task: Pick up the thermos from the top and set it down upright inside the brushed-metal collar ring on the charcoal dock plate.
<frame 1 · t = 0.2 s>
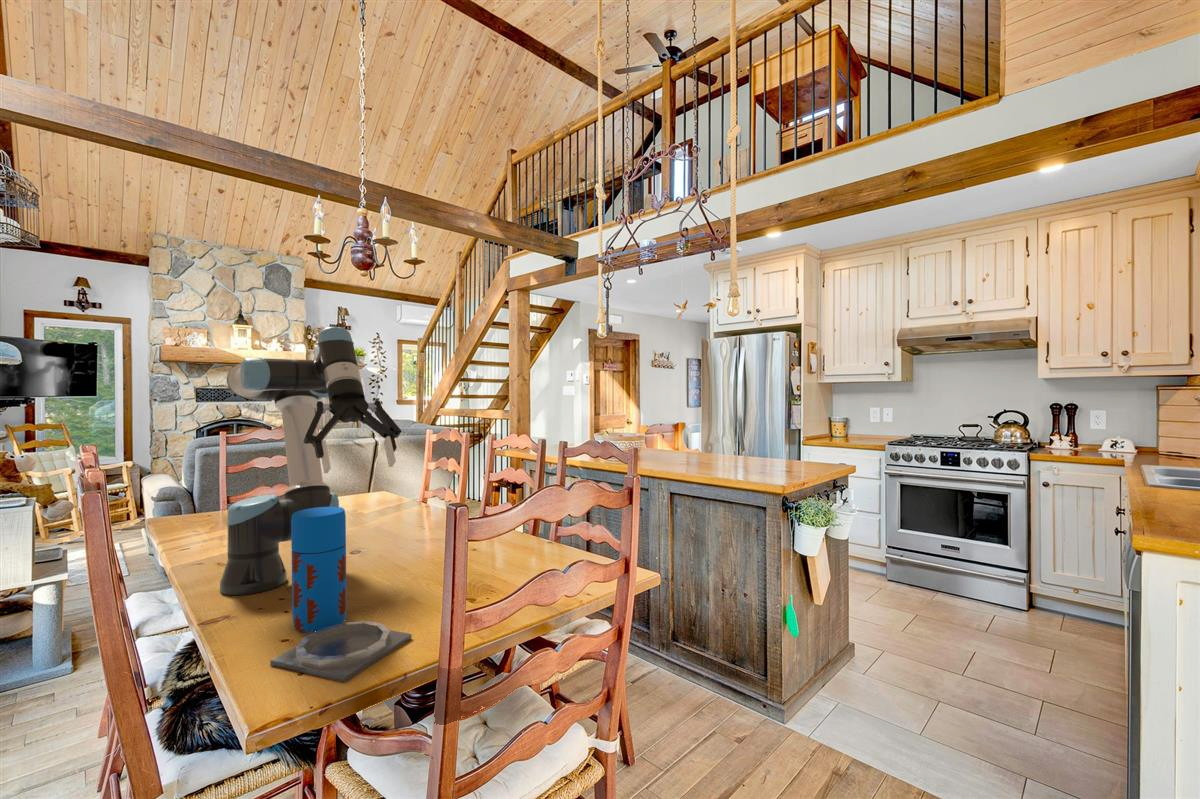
hand: (361, 467, 118), 35 cm above the table, tool tilted 30°, fingers open, 13 cm apart
collar dock: (344, 651, 108), on the table
thermos: (320, 622, 122), on the table
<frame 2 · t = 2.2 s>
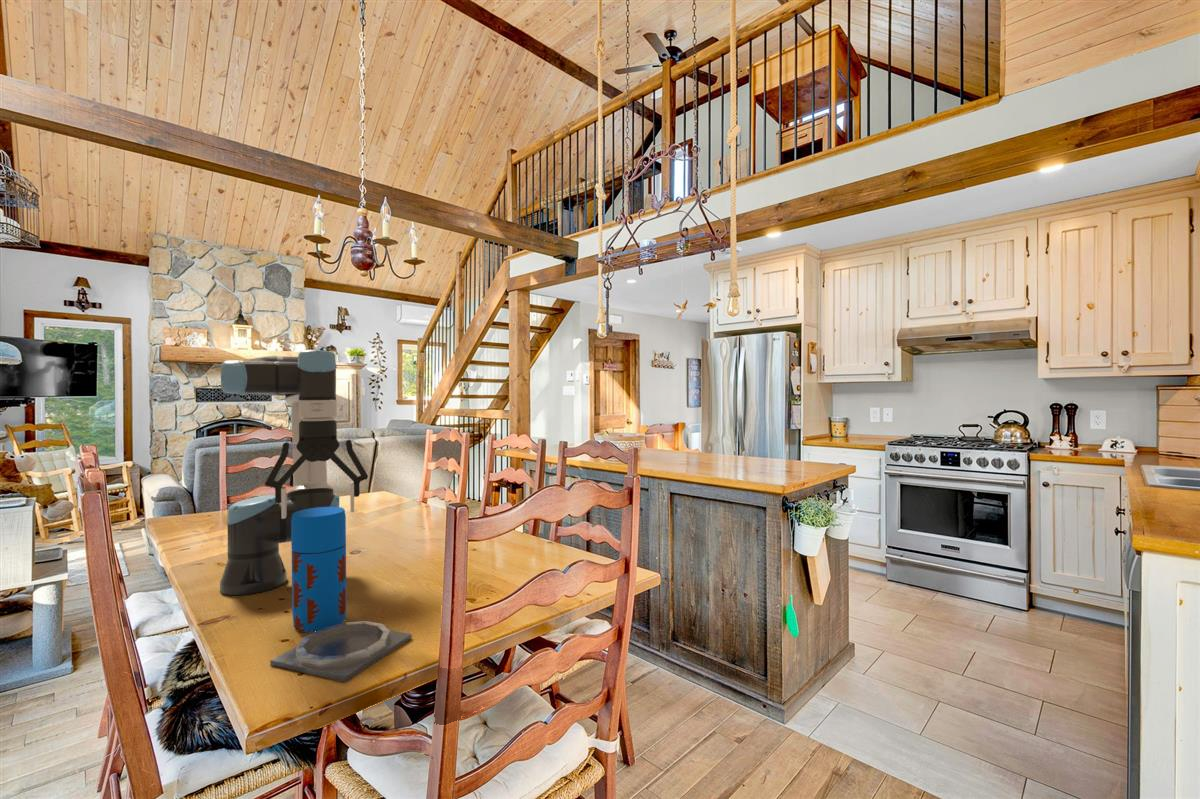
hand: (319, 514, 121), 24 cm above the table, tool pointing down, fingers open, 13 cm apart
nothing on the table moved.
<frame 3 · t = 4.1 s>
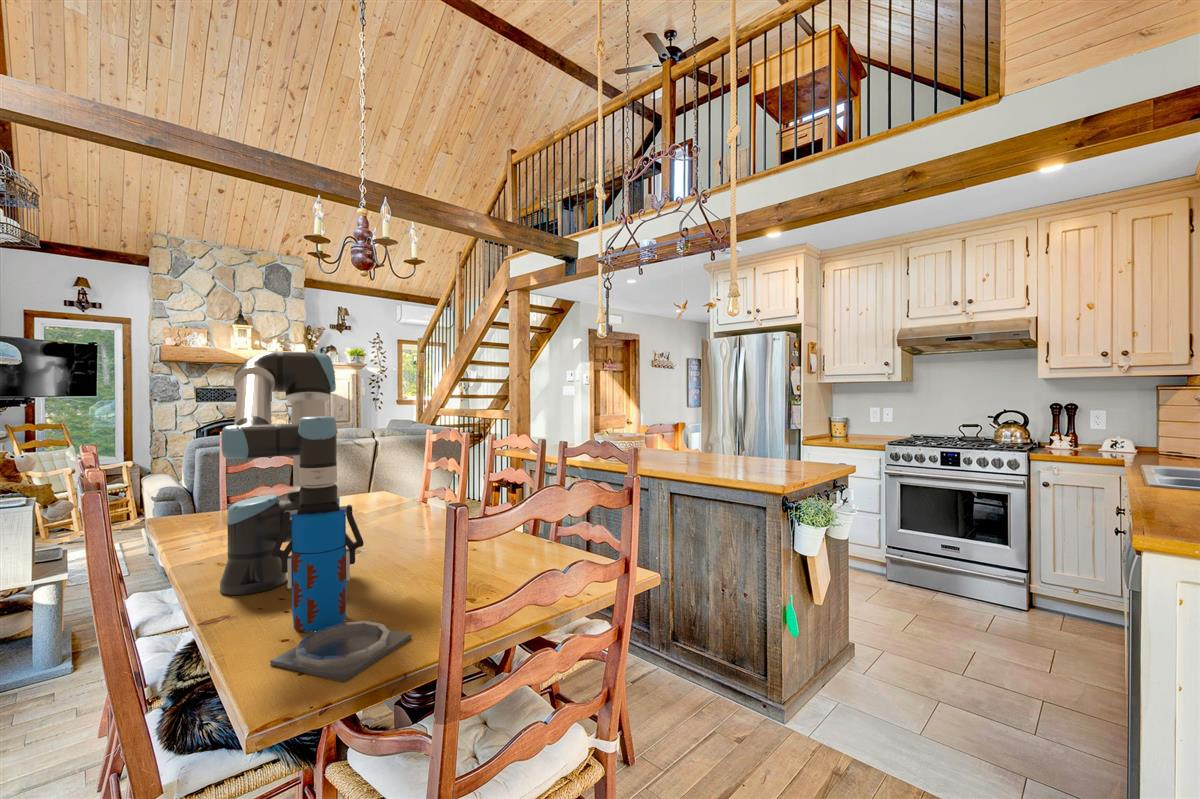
hand: (319, 582, 122), 9 cm above the table, tool pointing down, fingers closed on thermos, 11 cm apart
thermos: (320, 622, 122), on the table, touching gripper
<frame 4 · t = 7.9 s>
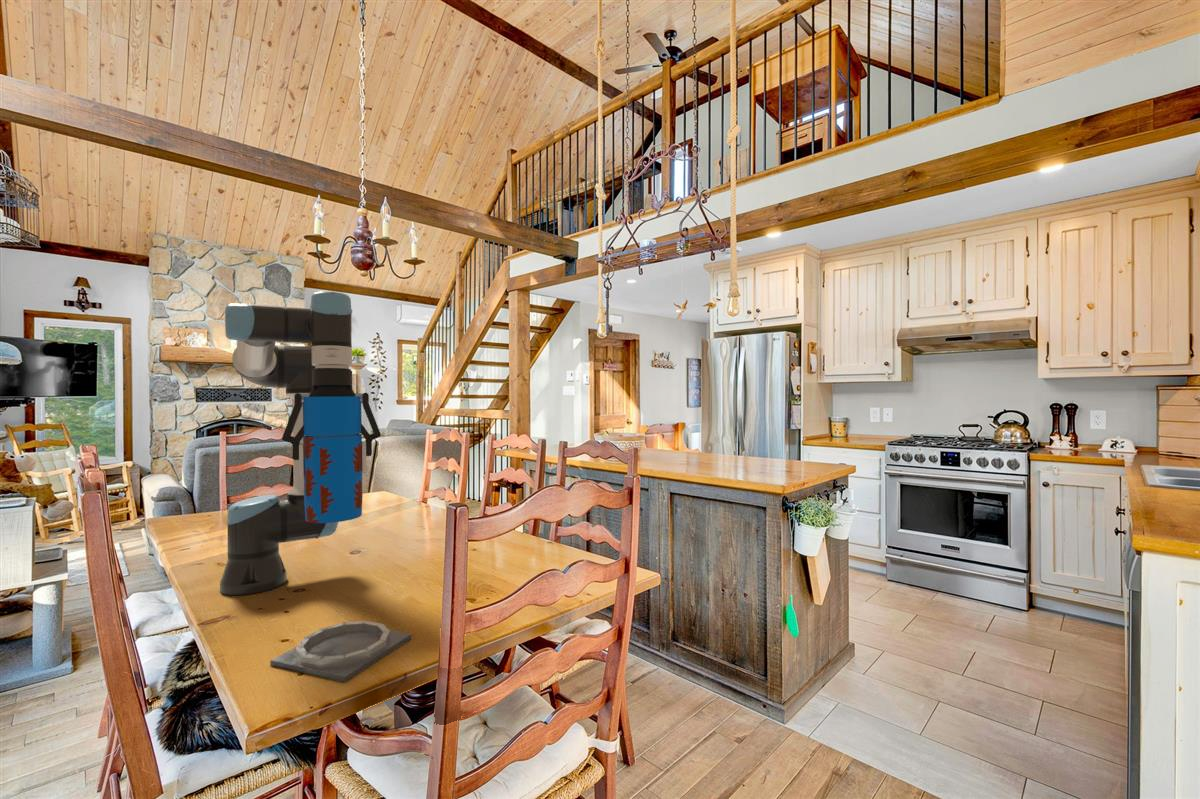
hand: (333, 474, 112), 35 cm above the table, tool pointing down, fingers closed on thermos, 11 cm apart
thermos: (334, 518, 112), point 26 cm above the table, touching gripper
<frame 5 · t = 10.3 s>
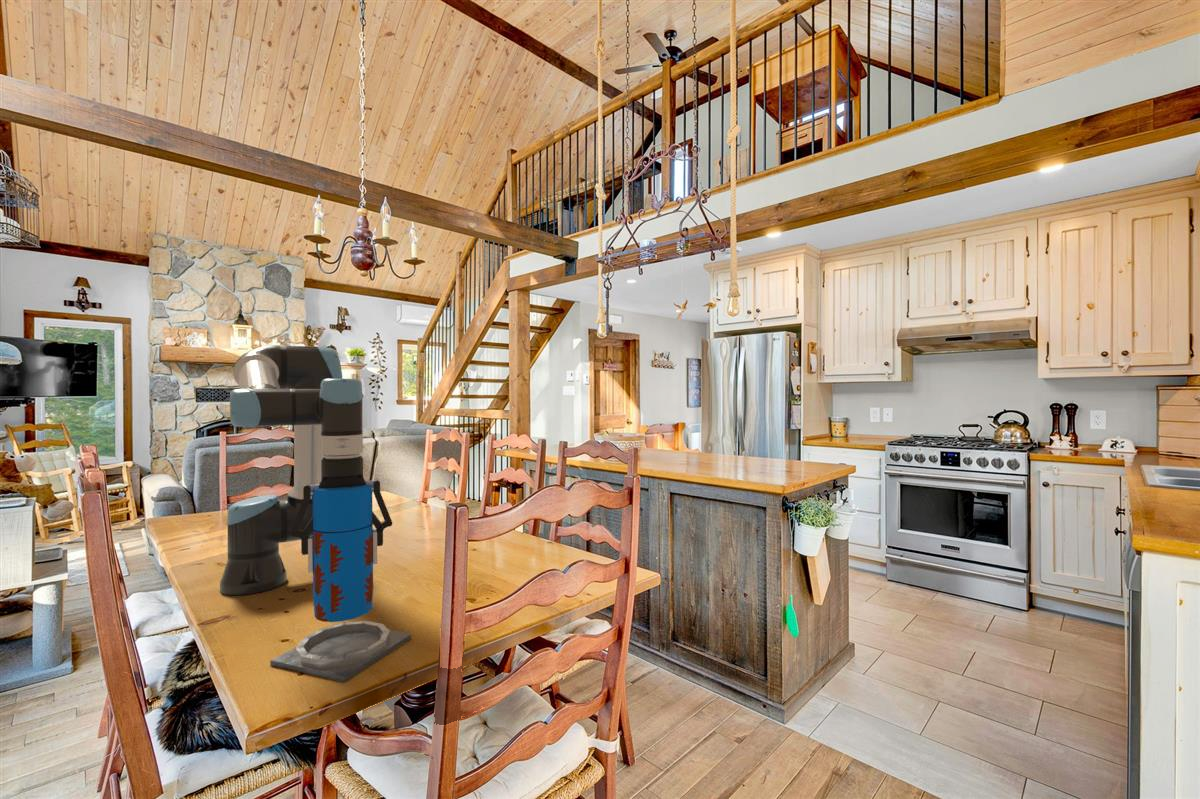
hand: (343, 566, 108), 17 cm above the table, tool pointing down, fingers closed on thermos, 11 cm apart
thermos: (344, 611, 108), point 8 cm above the table, touching gripper
when the fingers open (11 cm above the table, at t = 12.0 s): thermos drops 1 cm, resting on collar dock.
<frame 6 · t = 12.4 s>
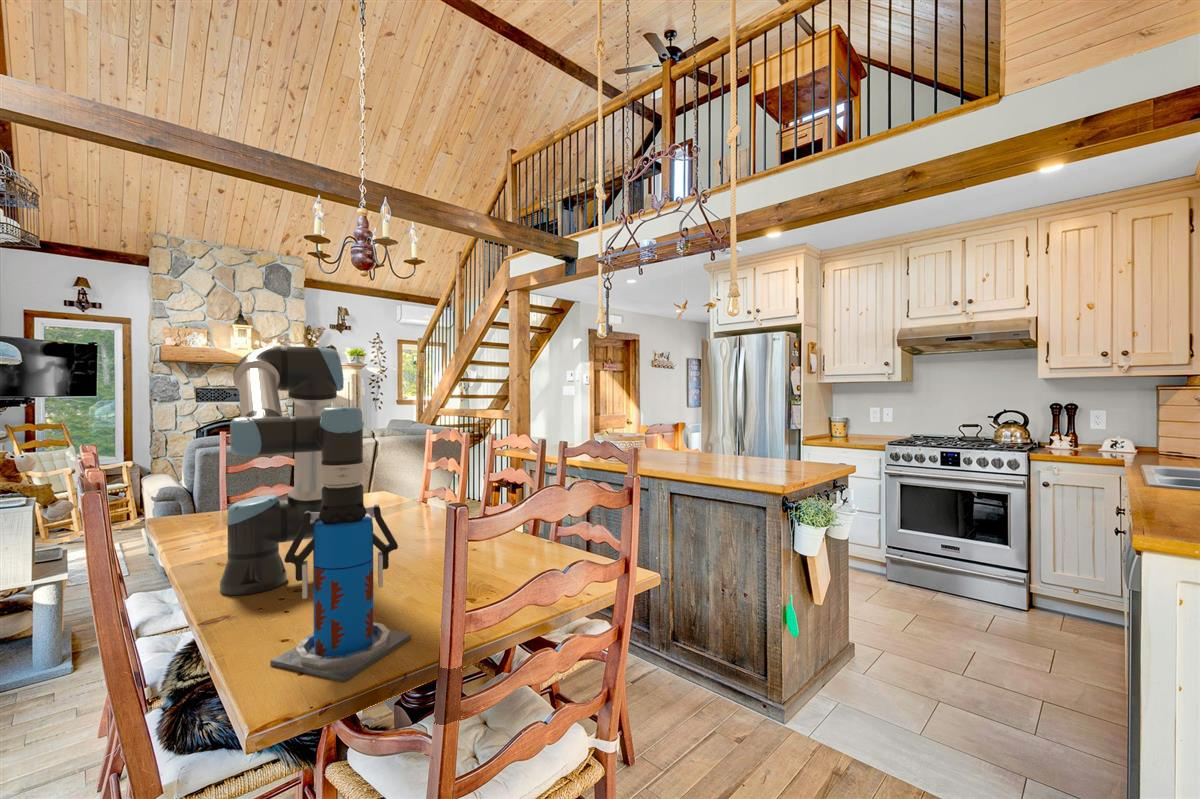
hand: (343, 590, 108), 12 cm above the table, tool pointing down, fingers open, 13 cm apart
thermos: (344, 647, 108), point 1 cm above the table, touching collar dock
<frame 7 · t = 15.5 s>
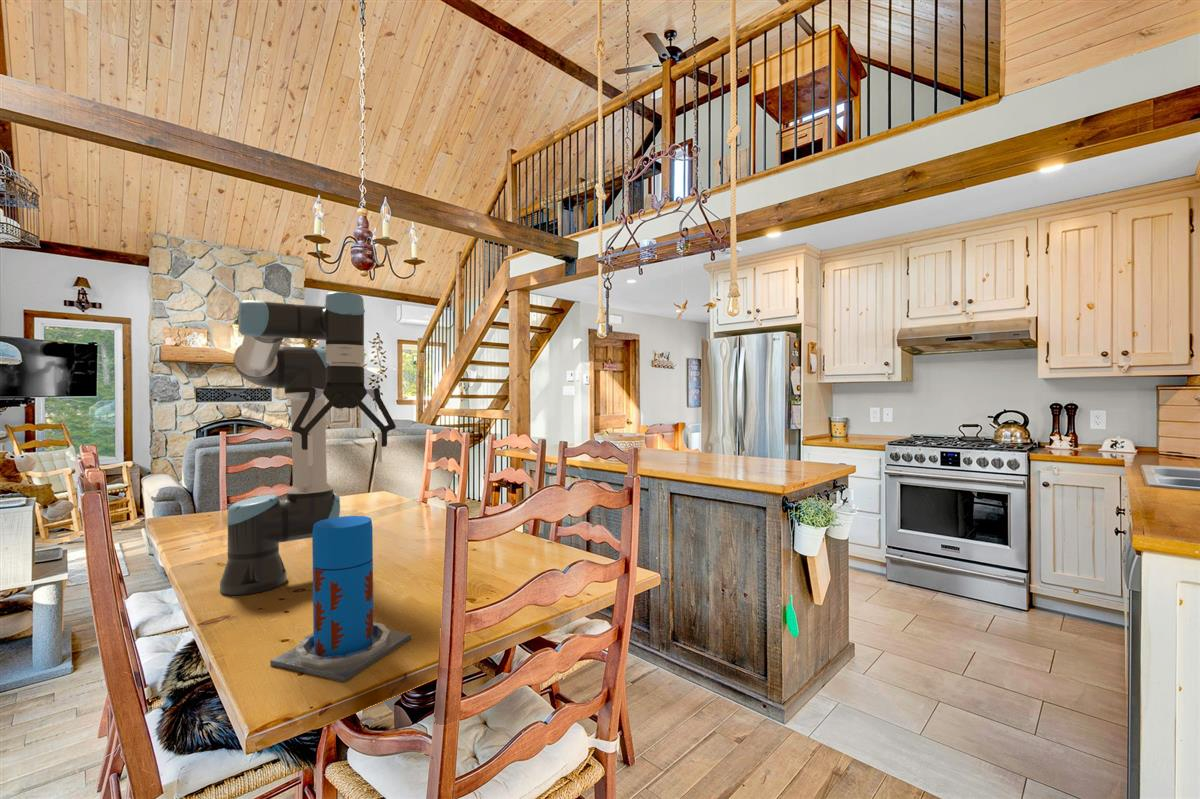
hand: (345, 463, 117), 36 cm above the table, tool pointing down, fingers open, 13 cm apart
nothing on the table moved.
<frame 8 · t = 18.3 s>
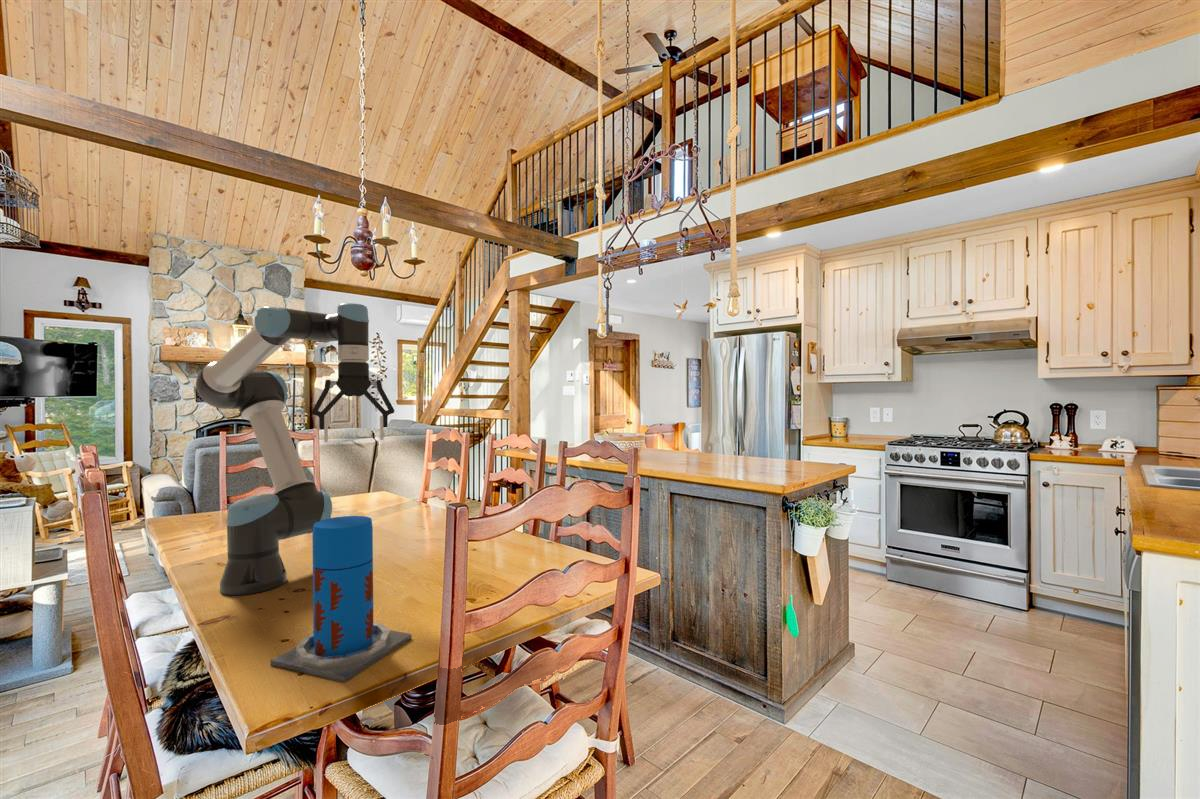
hand: (354, 440, 146), 39 cm above the table, tool pointing down, fingers open, 13 cm apart
nothing on the table moved.
at the end: thermos 0.0 cm off-centre on the collar dock, point 0.8 cm above the collar dock's base; thermos tilted 0°; the gripper is holding nothing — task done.
